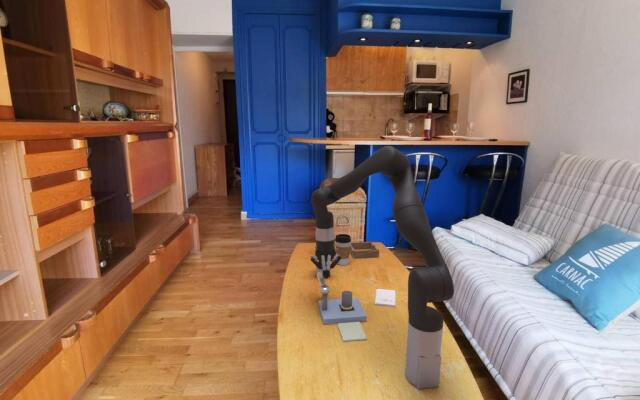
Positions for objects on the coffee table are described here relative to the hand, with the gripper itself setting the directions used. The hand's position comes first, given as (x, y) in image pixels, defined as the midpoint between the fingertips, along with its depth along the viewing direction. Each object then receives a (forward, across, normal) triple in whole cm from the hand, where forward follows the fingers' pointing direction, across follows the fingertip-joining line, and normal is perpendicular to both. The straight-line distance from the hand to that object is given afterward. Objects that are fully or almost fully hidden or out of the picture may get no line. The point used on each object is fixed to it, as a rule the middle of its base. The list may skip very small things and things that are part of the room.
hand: (326, 277), depth 143 cm
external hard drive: (+11, -24, +2) cm, 26 cm away
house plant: (+9, -2, -22) cm, 23 cm away
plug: (+10, -6, +11) cm, 16 cm away
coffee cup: (+10, -12, -36) cm, 39 cm away
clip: (0, +2, +6) cm, 6 cm away
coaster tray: (+10, -25, -49) cm, 56 cm away
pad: (+10, -6, +24) cm, 27 cm away
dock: (+9, -4, +11) cm, 15 cm away
